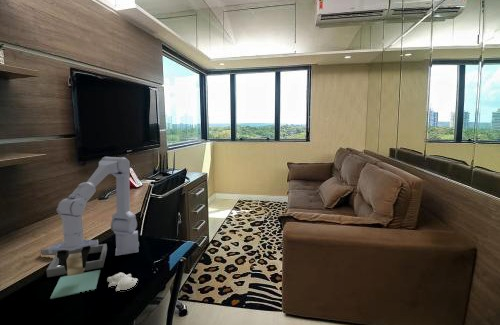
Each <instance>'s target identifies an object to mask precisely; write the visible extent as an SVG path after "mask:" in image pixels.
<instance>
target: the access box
mask: <svg viewBox="0 0 500 325" xmlns="http://www.w3.org/2000/svg"><path fill="white" fill-rule="evenodd" d="M82 249H83V248H80V249H75V250H72V251H69V250H68V256H69V254H75V253H81V251H82ZM107 251H108V245H107V243H103V244H102V243H101V244H98V247H94V246H93V247H91V249H90V251H89V253H88V255H89V254H98V253H101V254H100V256H99V259H97V260H91V261H86V267H85V269H84V272H85V271H86V272H87V271H92V270H96V269H97V270H98V269H102V268H104V266H105V260H106V256H107V253H108V252H107ZM59 264H60V262H59V258H57V254H56V255H55V257H54V259H51V262H50V263H49V265H48V267H47V268H46V278H51V277H56V276H57V277H59V276H62V275H63V276H65V275H68V273H67V271H66V270H65V267H64V265H59ZM58 265H59V266H58ZM56 266H57V267H56Z"/></svg>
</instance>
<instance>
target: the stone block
mask: <svg viewBox="0 0 500 325" xmlns="http://www.w3.org/2000/svg"><path fill="white" fill-rule="evenodd" d="M63 243H64V240H63V241H61V240H60V241H58V242H56V243H54V244H51V246H54V245H59V244H63ZM48 248H49V247H46V248H43V249H41V250H40V255H41V254H42V255H56V254H57V252H53V253H51V254H49V250H48Z"/></svg>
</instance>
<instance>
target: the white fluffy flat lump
mask: <svg viewBox="0 0 500 325" xmlns="http://www.w3.org/2000/svg"><path fill="white" fill-rule="evenodd" d="M137 281H138V282H139V279H138V278H136V277H132V274H131V273H128V274H125V273H124V272H118V273H115V274H114V275H112V276H108V277H107V279H106V282H107V283H108V282H109V283H108V285H107V286H108V288H109V287H111V286H115V287H116V288H115V292H117V291H120V290H127V289H130V288H132V287H134V286H135V285H136V283H137V284H138V282H137ZM116 285H117V286H116ZM136 286H137V285H136ZM136 286H135V287H136ZM135 287H134V288H135ZM111 288H112V287H111ZM132 289H133V288H132ZM130 290H131V289H130ZM127 291H128V290H127ZM120 292H121V291H120Z"/></svg>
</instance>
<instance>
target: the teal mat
mask: <svg viewBox="0 0 500 325" xmlns="http://www.w3.org/2000/svg"><path fill="white" fill-rule="evenodd" d="M100 274H101V269H99V270H98V269H97V270H96V269H95V270H93V271H92V270H90V271H86V272H85V271H84V272H83V274H78V275H72V276H68V275H63V276H60V278H59V279H58V281H57V284H56V286H55V287H54V289H53V292H52V293H51V296H50V298H49V299H50V300H54V299H57V298H62V297H67V296H71V295H76V294H77V295H78V294H80V292H82V293H86V292H85V291H87V292H90V291H89V290H91V291H95V289H96V290H97V285H98V282H99V278H100Z"/></svg>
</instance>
